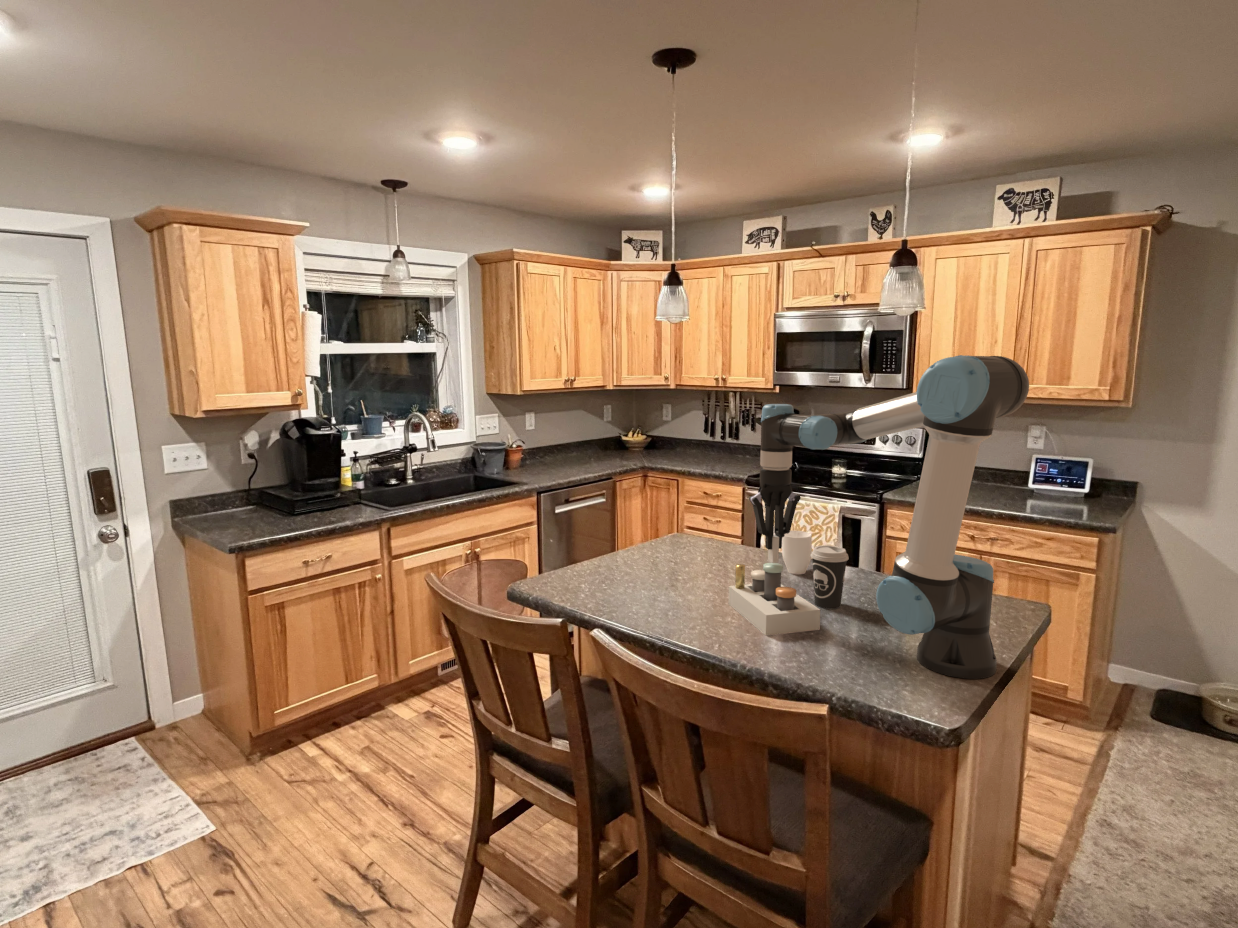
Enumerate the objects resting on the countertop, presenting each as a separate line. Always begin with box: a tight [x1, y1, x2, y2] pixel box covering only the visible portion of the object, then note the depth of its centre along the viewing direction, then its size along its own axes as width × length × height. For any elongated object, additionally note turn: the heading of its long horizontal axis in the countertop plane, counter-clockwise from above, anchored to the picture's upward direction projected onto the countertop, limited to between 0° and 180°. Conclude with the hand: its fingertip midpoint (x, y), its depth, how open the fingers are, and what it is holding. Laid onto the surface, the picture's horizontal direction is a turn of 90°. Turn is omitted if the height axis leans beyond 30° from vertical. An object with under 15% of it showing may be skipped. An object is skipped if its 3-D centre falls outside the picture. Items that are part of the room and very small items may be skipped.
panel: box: [728, 583, 821, 637], centre depth 173 cm, size 22×14×5 cm, turn 14°
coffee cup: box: [810, 544, 849, 610], centre depth 181 cm, size 10×10×15 cm
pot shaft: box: [734, 563, 746, 589], centre depth 180 cm, size 2×2×6 cm
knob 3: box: [776, 586, 797, 611], centre depth 166 cm, size 5×5×9 cm
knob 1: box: [750, 569, 765, 592], centre depth 180 cm, size 5×5×9 cm
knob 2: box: [762, 562, 784, 601], centre depth 172 cm, size 5×5×9 cm
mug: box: [781, 530, 813, 575], centre depth 210 cm, size 12×9×12 cm
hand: (773, 561), depth 172 cm, fingers closed
